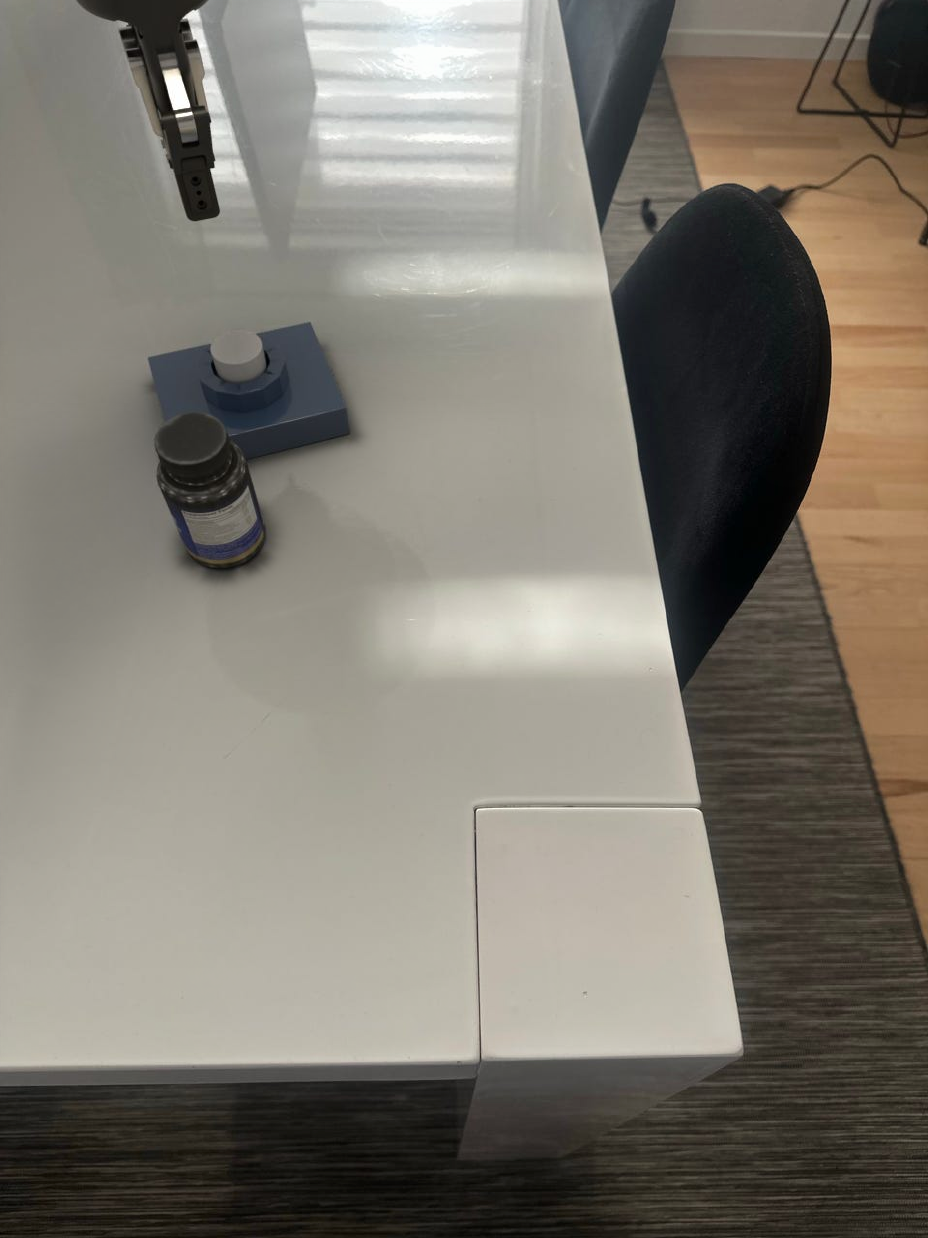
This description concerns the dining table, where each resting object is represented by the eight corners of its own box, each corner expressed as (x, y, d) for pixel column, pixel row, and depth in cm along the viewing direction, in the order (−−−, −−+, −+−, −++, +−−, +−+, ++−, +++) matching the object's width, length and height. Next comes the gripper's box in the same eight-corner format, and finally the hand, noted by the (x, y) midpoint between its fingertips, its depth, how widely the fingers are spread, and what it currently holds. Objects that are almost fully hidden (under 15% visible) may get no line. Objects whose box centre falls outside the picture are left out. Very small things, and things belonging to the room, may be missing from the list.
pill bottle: (188, 509, 65) (146, 404, 55) (267, 504, 65) (239, 399, 56) (183, 574, 62) (137, 475, 52) (266, 568, 62) (236, 469, 53)
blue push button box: (181, 476, 67) (164, 431, 62) (157, 384, 72) (139, 337, 68) (350, 433, 70) (344, 388, 65) (314, 348, 75) (307, 301, 71)
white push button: (222, 389, 65) (216, 368, 64) (211, 356, 67) (205, 335, 66) (272, 377, 66) (267, 357, 64) (260, 345, 68) (255, 324, 66)
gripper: (25, -159, 43) (129, 169, 58) (55, -52, 37) (164, 285, 52) (170, -172, 45) (236, 151, 60) (223, -72, 38) (282, 261, 53)
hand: (202, 213), depth 56 cm, fingers closed
